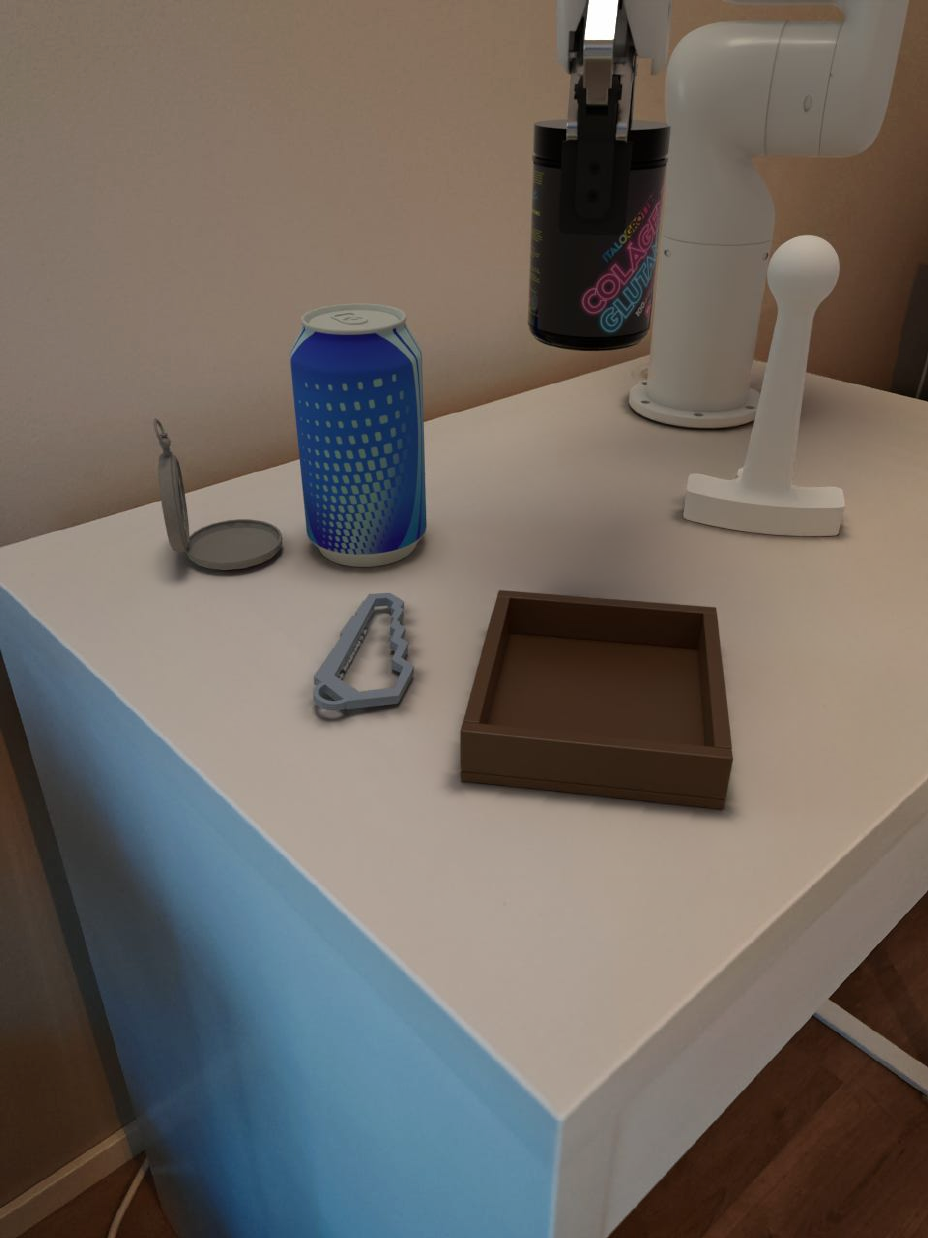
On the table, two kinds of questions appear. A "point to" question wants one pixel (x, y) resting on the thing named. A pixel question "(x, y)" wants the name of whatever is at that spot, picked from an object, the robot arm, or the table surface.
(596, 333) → the supplement container
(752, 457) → the joystick
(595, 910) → the table surface
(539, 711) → the tray
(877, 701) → the table surface
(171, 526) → the pocket watch
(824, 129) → the robot arm
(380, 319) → the beer can
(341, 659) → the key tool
